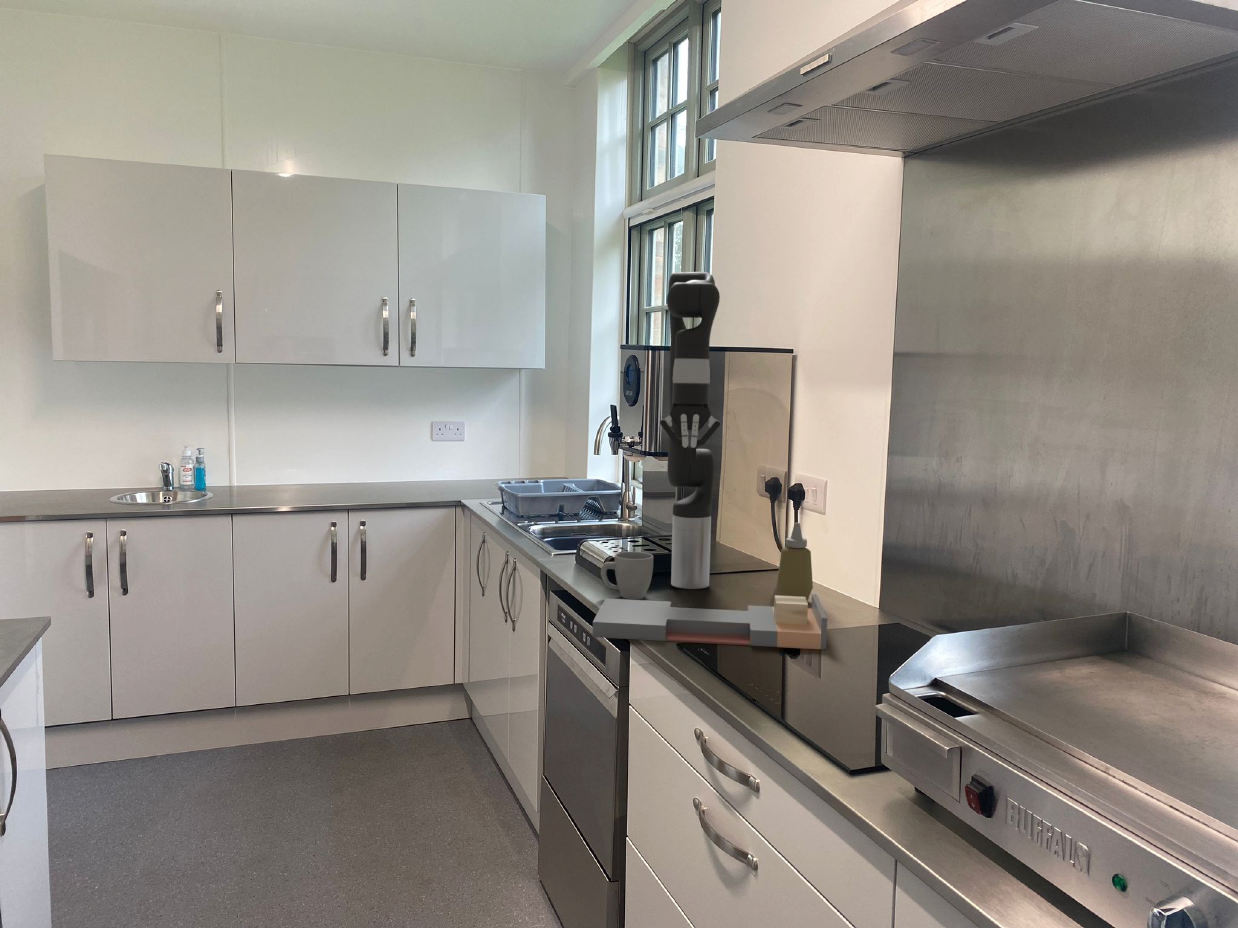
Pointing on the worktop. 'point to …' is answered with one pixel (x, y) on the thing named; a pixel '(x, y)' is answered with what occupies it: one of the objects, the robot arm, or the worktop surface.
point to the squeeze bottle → (795, 567)
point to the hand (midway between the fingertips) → (689, 465)
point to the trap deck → (708, 624)
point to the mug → (630, 573)
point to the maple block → (790, 610)
